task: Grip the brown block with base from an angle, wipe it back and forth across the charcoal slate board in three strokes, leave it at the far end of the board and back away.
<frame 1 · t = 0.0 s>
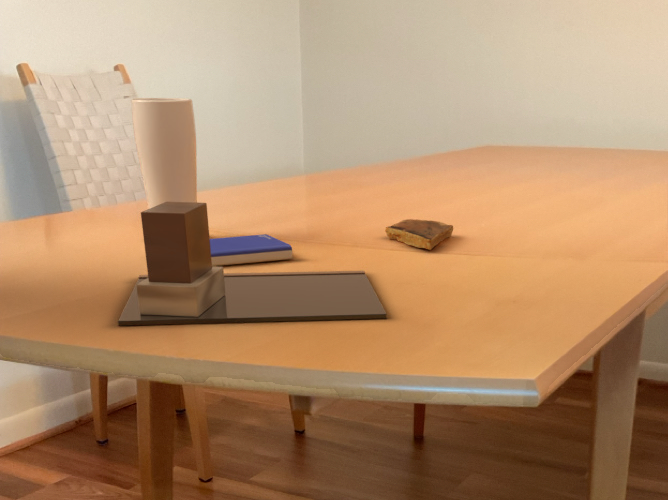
brown block with base: (184, 304, 79), resting on slate
slate: (254, 299, 83), on the table
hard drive: (225, 260, 99), on the table
shard: (430, 243, 109), on the table
white cup: (176, 240, 109), on the table
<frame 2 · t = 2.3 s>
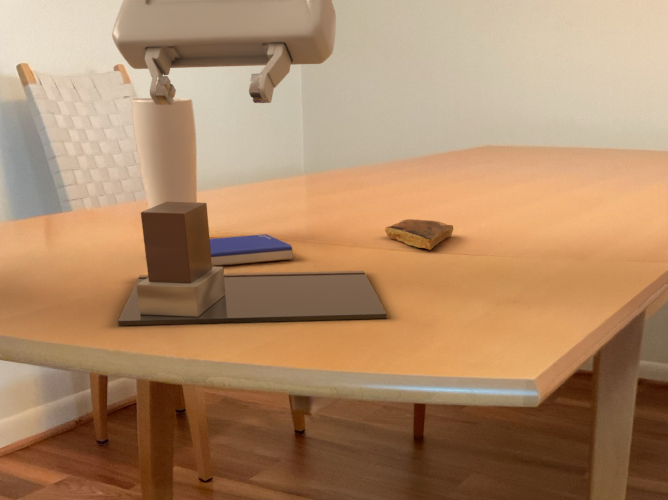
hand: (209, 99, 81), 16 cm above the table, tool tilted 40°, fingers open, 8 cm apart
nothing on the table moved.
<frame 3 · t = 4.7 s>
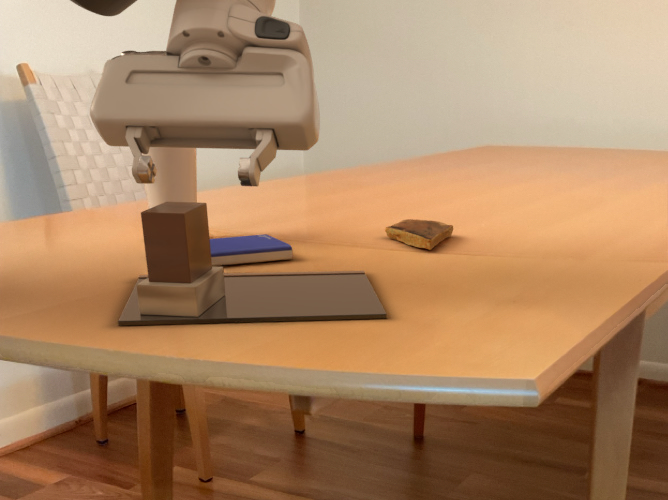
hand: (194, 180, 80), 10 cm above the table, tool tilted 45°, fingers open, 8 cm apart
nothing on the table moved.
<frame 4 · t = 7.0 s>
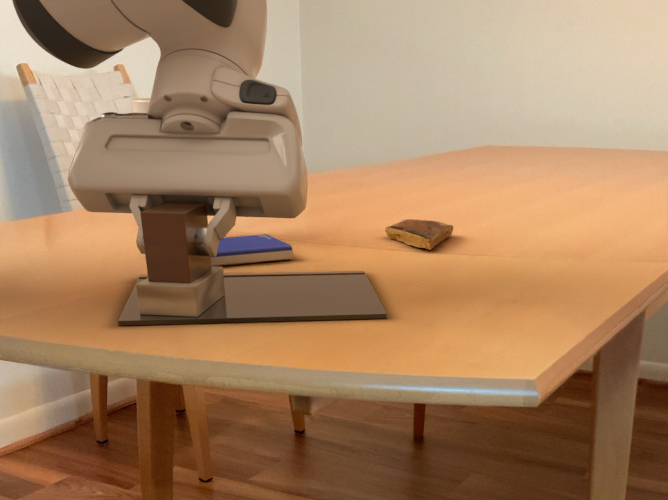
hand: (176, 251, 76), 5 cm above the table, tool tilted 45°, fingers closed on brown block with base, 3 cm apart
brown block with base: (184, 304, 79), resting on slate, touching gripper
everything else where it was.
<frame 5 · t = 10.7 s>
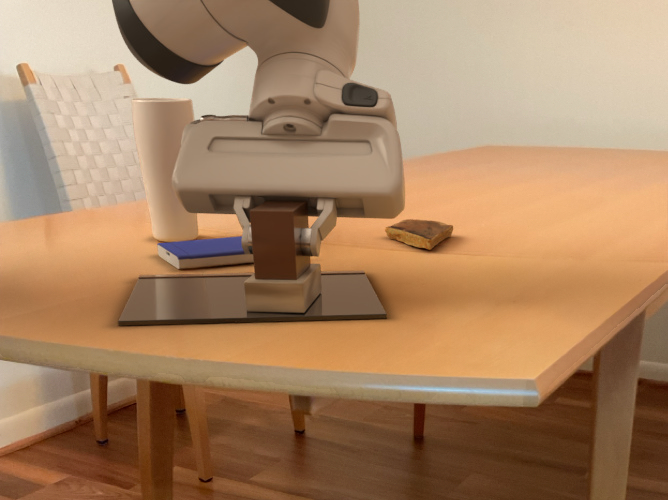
hand: (280, 251, 78), 5 cm above the table, tool tilted 45°, fingers closed on brown block with base, 3 cm apart
brown block with base: (285, 301, 80), resting on slate, touching gripper
everything else where it was.
when the fingers open (5 cm above the table, at t = 14.2 s): brown block with base stays where it is, resting on slate.
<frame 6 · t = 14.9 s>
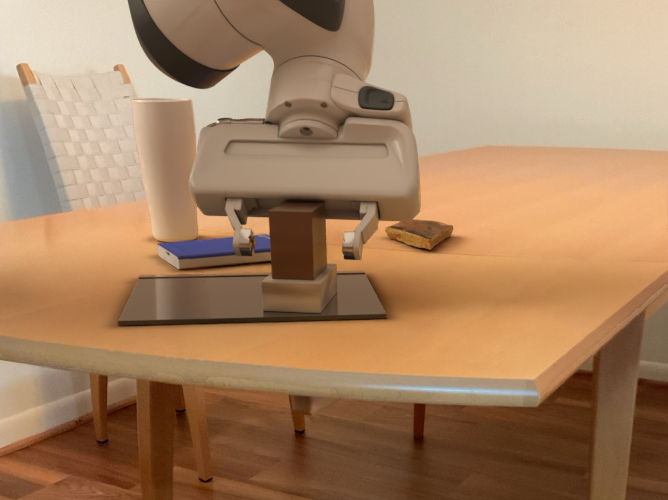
hand: (296, 254, 78), 5 cm above the table, tool tilted 45°, fingers open, 8 cm apart
brown block with base: (301, 301, 81), resting on slate
everything else where it was.
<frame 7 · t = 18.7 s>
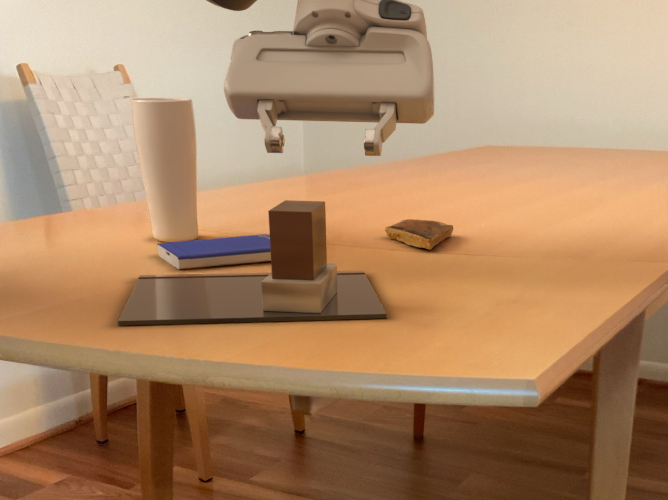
hand: (322, 150, 86), 12 cm above the table, tool tilted 45°, fingers open, 8 cm apart
nothing on the table moved.
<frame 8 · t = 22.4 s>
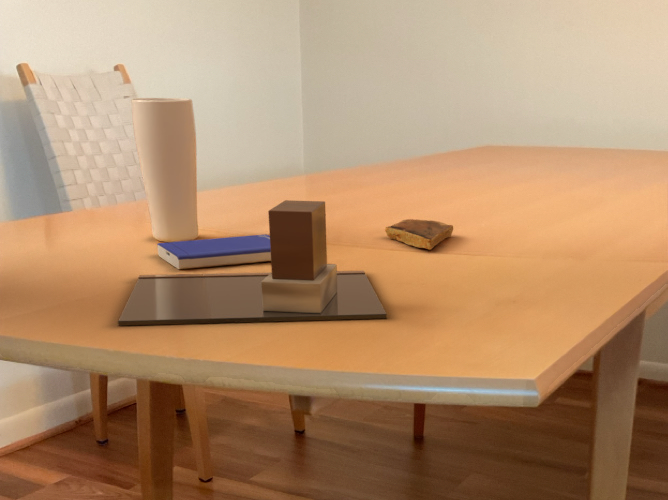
nothing on the table moved.
at the end: brown block with base 0.7 cm from the target spot on the slate, point 0.4 cm above the slate's base; brown block with base tilted 0°; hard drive moved 0.2 cm from its start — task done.
